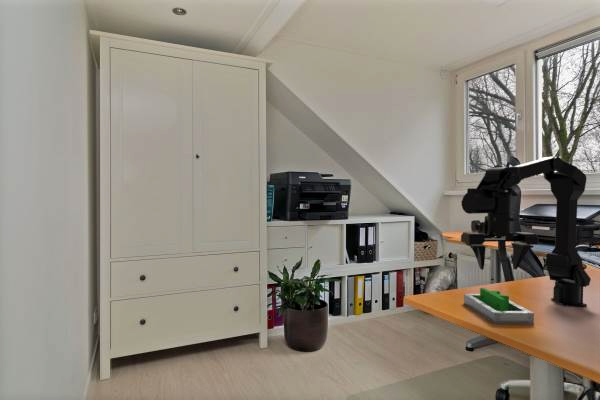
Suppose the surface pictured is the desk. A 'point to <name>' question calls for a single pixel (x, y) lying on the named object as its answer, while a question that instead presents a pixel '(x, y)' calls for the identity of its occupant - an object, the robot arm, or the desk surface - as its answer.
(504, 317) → the gray rectangular tray
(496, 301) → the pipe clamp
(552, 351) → the desk surface
